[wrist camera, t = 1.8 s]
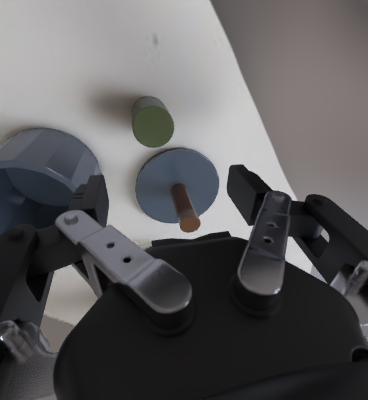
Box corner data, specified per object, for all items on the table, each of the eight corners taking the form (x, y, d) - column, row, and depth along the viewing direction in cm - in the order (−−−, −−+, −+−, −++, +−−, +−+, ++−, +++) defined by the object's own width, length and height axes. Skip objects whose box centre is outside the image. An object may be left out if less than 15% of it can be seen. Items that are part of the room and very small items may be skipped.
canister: (-1, 114, 25) (-59, 144, 17) (108, 143, 29) (101, 178, 22) (2, 199, 31) (-41, 251, 23) (93, 214, 35) (83, 262, 27)
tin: (137, 90, 26) (138, 99, 22) (171, 103, 28) (179, 114, 24) (128, 126, 29) (128, 141, 24) (161, 136, 30) (166, 152, 26)
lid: (148, 136, 30) (155, 166, 22) (230, 160, 34) (258, 192, 27) (126, 211, 36) (125, 255, 28) (198, 224, 40) (214, 264, 33)
